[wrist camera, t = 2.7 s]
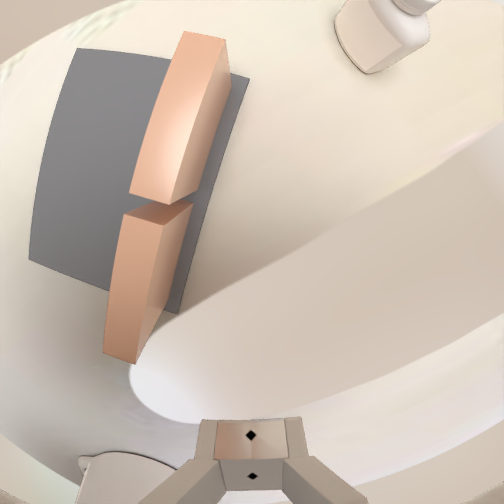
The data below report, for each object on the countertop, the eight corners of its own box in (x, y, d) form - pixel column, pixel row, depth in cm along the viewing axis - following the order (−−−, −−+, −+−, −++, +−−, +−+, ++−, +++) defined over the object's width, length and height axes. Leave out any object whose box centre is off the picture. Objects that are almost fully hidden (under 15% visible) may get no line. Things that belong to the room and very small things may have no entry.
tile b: (197, 189, 22) (169, 204, 13) (170, 181, 22) (127, 192, 13) (231, 86, 20) (225, 39, 12) (204, 79, 20) (182, 30, 11)
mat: (177, 312, 25) (177, 314, 25) (30, 258, 23) (28, 259, 23) (249, 79, 20) (249, 78, 20) (78, 49, 19) (77, 48, 18)
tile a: (168, 299, 24) (135, 364, 16) (143, 292, 24) (101, 352, 15) (193, 203, 22) (163, 226, 14) (166, 195, 22) (122, 213, 13)
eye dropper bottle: (333, 68, 20) (404, 0, 9) (332, 10, 19) (389, -74, 7) (384, 79, 20) (478, 32, 9) (382, 22, 19) (459, -43, 7)
